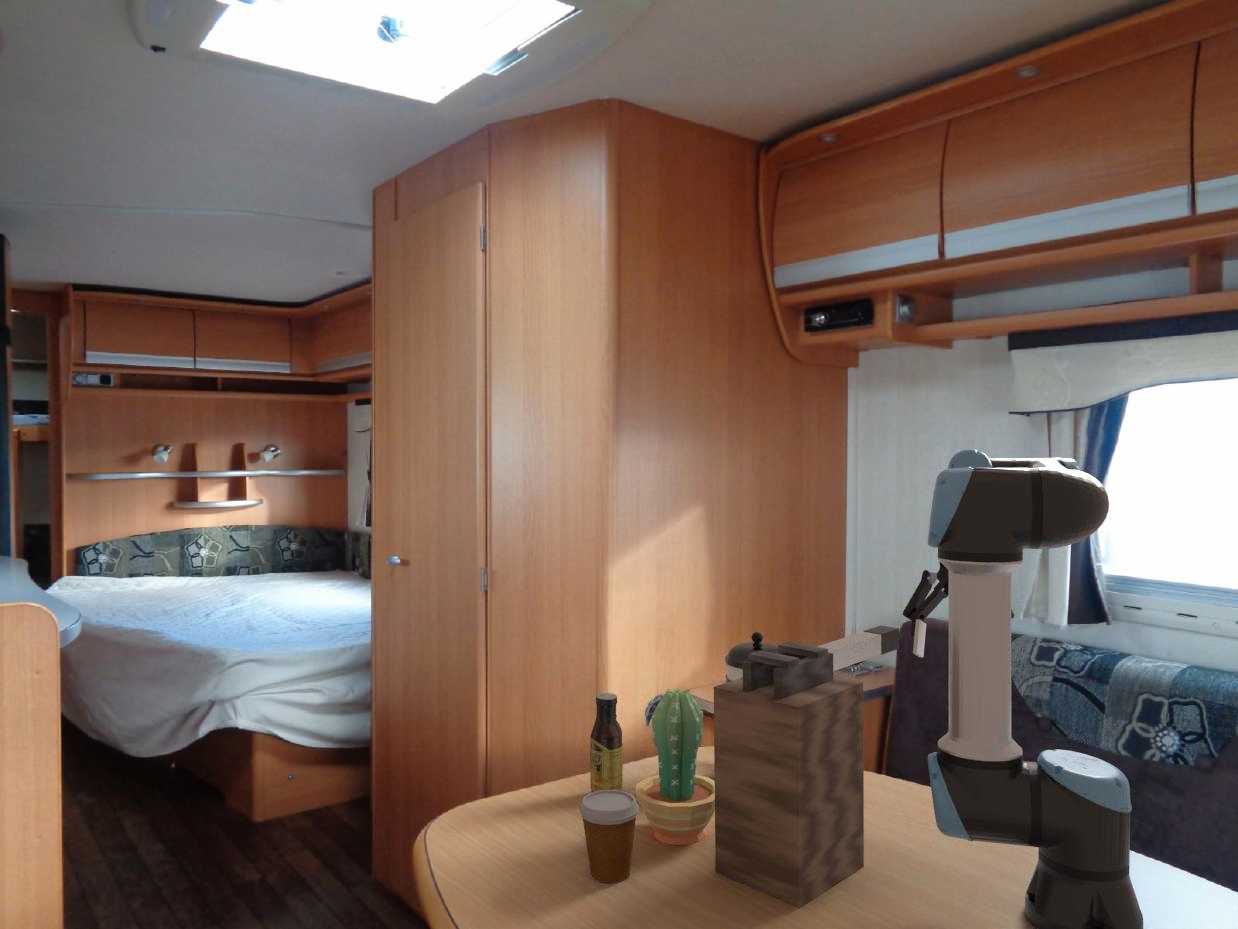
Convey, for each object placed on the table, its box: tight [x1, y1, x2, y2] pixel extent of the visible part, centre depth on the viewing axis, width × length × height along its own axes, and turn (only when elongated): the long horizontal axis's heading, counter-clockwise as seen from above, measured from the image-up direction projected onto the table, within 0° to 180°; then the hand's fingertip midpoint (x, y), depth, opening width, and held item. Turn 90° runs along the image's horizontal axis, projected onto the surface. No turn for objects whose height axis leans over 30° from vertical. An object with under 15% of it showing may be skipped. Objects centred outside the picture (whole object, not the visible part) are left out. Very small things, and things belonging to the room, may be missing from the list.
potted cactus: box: [635, 688, 715, 846], centre depth 165 cm, size 15×15×25 cm
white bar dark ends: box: [800, 625, 900, 672], centre depth 163 cm, size 26×4×4 cm, turn 135°
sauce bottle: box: [589, 692, 624, 793], centre depth 181 cm, size 6×6×20 cm
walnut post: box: [713, 641, 865, 908], centre depth 151 cm, size 18×16×35 cm
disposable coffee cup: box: [579, 790, 640, 884], centre depth 151 cm, size 10×10×12 cm
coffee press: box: [724, 631, 779, 683], centre depth 190 cm, size 17×16×30 cm
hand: (953, 655), depth 171 cm, fingers open, 13 cm apart
